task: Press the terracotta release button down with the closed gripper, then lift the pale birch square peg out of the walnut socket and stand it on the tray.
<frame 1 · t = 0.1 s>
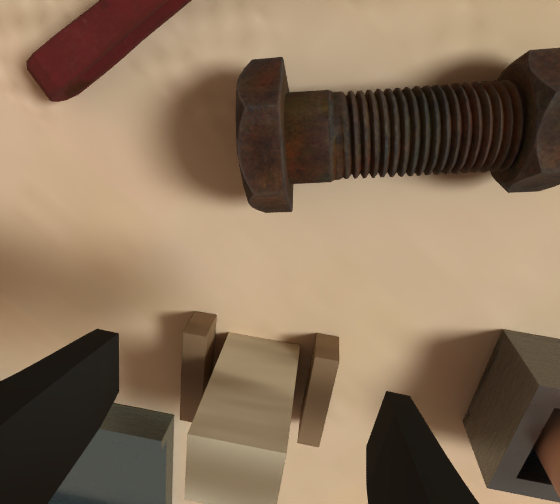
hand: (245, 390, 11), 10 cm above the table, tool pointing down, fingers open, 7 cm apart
bolt: (432, 125, 17), on the table
socket: (260, 367, 23), on the table
button housing: (543, 389, 21), on the table
tray: (33, 440, 28), on the table
peg: (260, 366, 23), on the table
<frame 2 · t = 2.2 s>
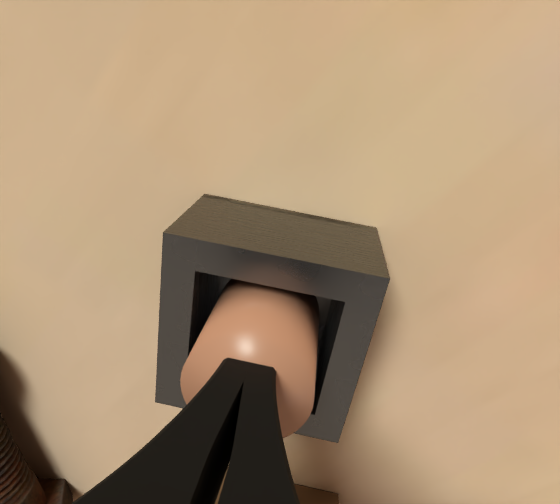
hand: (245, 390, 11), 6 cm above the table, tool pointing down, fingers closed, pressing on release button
bolt: (2, 390, 21), on the table
button housing: (276, 286, 16), on the table
release button: (259, 346, 13), point 4 cm above the table, slide at 0.6 cm, touching gripper
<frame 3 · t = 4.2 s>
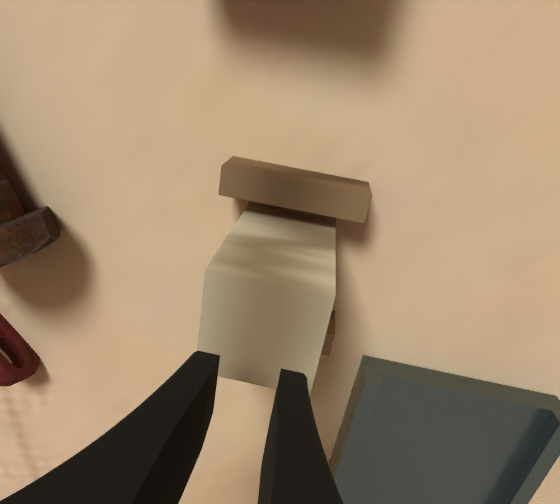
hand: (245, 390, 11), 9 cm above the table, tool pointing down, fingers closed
socket: (285, 250, 19), on the table
tray: (403, 499, 25), on the table
peg: (285, 249, 19), on the table
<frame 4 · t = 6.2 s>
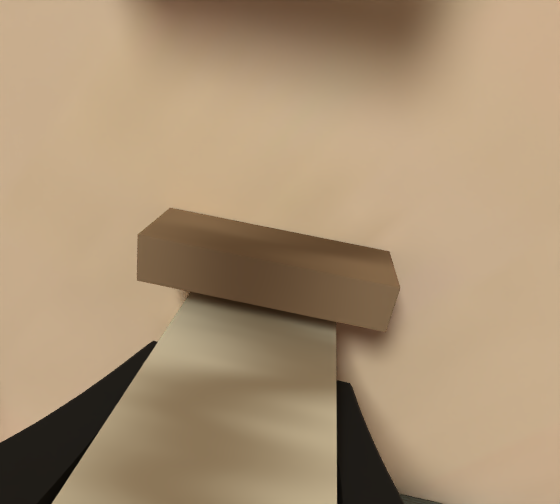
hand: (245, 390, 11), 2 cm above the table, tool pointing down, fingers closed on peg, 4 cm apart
socket: (257, 346, 13), on the table
peg: (258, 346, 13), on the table, touching gripper
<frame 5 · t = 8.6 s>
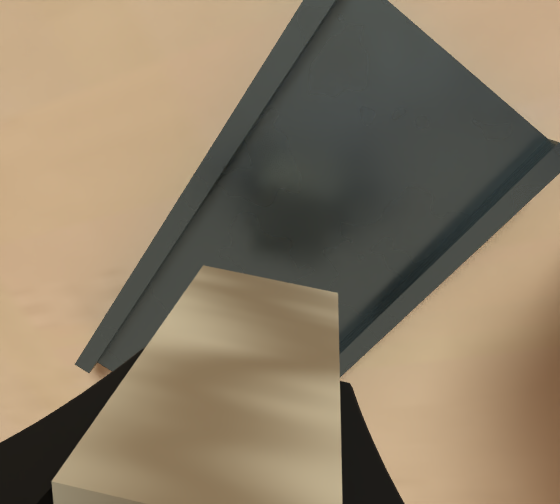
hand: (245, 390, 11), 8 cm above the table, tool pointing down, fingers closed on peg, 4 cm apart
tray: (282, 260, 18), on the table
peg: (260, 335, 13), point 6 cm above the table, touching gripper
when the fingers open (5 cm above the table, at t = 9.6 s): peg drops 1 cm, resting on tray.
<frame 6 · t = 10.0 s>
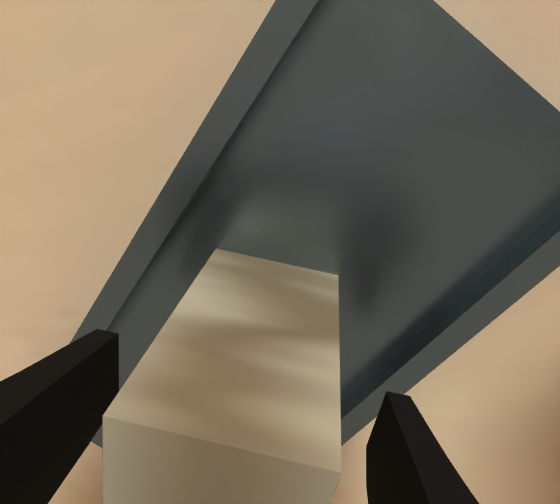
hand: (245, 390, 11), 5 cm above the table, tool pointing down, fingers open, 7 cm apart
tray: (270, 302, 15), on the table
peg: (266, 313, 14), point 1 cm above the table, touching tray
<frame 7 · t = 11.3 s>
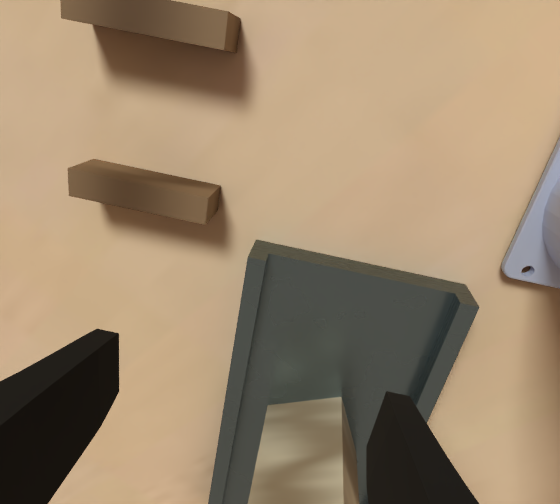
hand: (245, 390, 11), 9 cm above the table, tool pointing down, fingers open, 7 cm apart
socket: (159, 109, 17), on the table
tray: (314, 415, 23), on the table
peg: (312, 429, 22), point 1 cm above the table, touching tray
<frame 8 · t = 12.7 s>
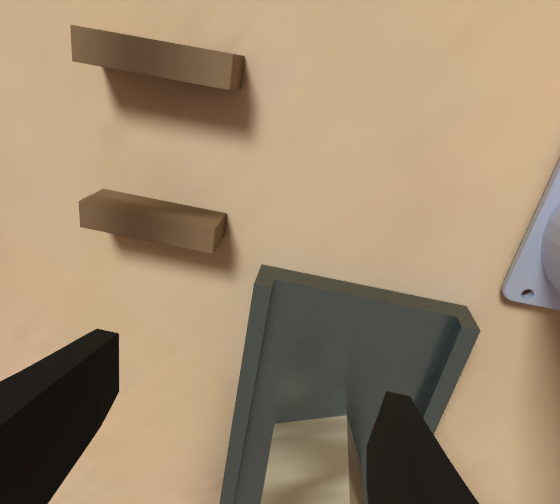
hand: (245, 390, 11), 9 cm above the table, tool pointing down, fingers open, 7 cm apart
socket: (167, 142, 18), on the table
tray: (320, 432, 24), on the table
peg: (318, 446, 23), point 1 cm above the table, touching tray
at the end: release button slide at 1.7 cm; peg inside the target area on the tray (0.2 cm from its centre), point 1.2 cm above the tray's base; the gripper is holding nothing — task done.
